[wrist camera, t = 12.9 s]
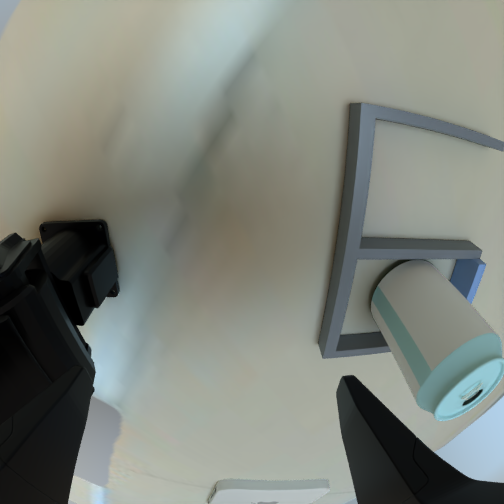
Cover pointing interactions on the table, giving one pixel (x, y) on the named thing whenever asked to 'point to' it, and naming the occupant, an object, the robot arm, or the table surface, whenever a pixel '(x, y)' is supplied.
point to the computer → (268, 491)
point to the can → (437, 339)
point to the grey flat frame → (385, 248)
